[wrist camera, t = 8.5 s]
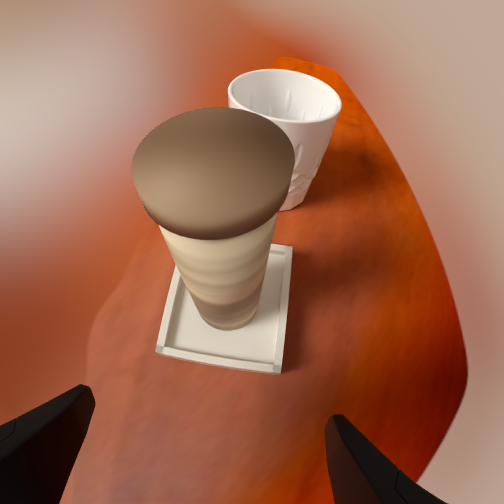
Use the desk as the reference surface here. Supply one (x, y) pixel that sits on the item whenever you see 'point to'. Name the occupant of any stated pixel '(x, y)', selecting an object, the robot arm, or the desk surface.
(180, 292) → the tray
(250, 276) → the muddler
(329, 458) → the robot arm
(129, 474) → the desk surface
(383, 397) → the desk surface
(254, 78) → the white cup
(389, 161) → the desk surface
